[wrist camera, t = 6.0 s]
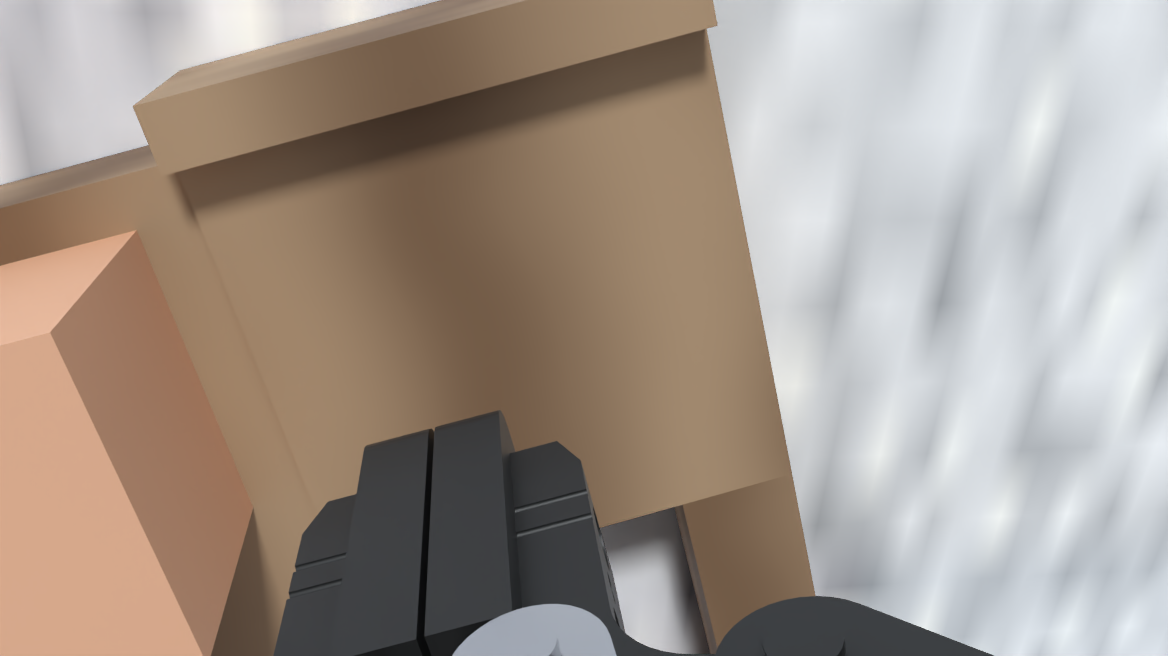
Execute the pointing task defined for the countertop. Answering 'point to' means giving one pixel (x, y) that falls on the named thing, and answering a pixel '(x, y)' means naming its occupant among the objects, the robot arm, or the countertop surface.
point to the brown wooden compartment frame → (460, 271)
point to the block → (108, 465)
